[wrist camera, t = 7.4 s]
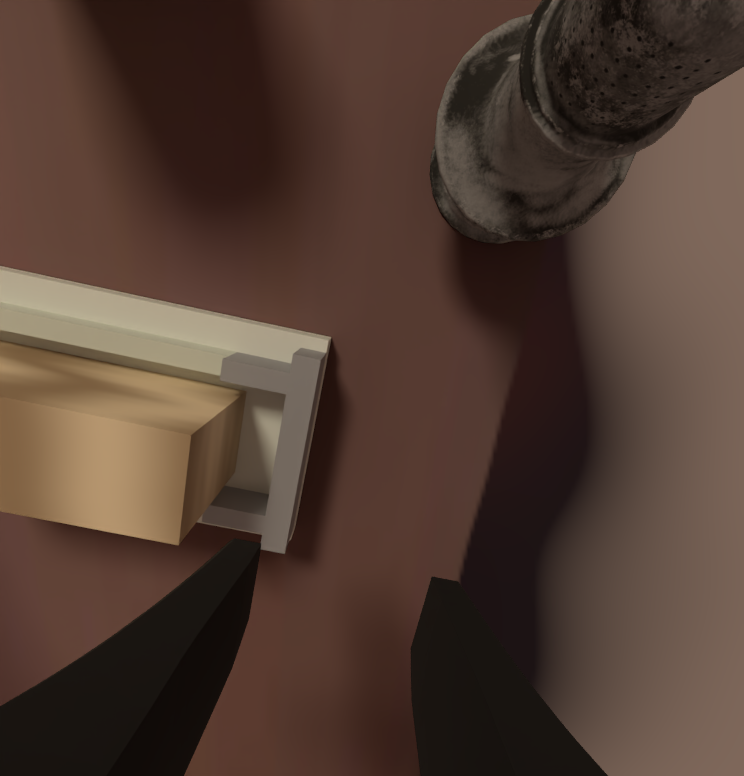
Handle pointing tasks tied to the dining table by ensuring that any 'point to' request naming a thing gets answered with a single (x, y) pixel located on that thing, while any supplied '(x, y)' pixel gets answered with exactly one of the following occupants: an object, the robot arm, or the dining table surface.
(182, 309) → the cream rectangular tray
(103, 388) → the tan wooden block
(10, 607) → the dining table surface
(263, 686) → the dining table surface
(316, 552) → the dining table surface
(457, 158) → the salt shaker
